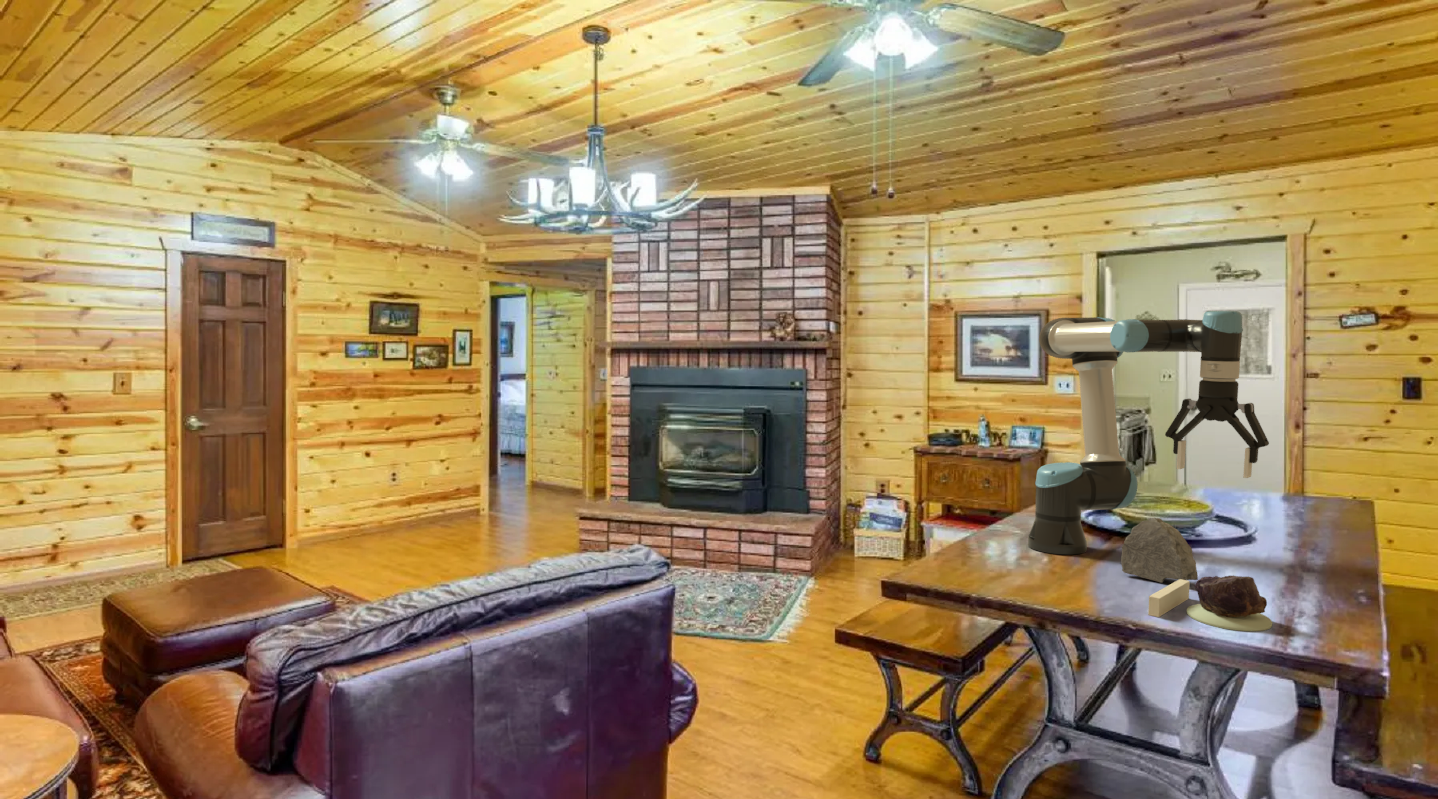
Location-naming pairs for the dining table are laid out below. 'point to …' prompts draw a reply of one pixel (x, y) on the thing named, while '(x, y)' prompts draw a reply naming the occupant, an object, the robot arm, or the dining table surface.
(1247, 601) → the rock
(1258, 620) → the felt pad
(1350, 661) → the dining table surface
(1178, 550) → the decorative rock
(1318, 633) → the dining table surface
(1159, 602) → the rail
